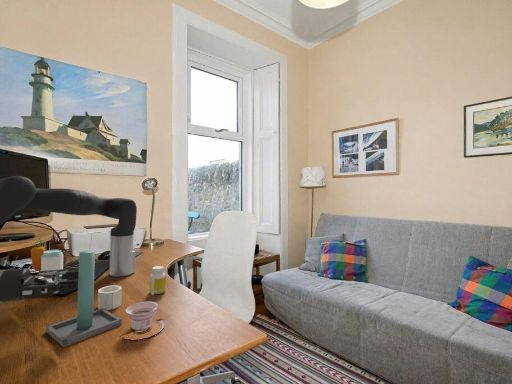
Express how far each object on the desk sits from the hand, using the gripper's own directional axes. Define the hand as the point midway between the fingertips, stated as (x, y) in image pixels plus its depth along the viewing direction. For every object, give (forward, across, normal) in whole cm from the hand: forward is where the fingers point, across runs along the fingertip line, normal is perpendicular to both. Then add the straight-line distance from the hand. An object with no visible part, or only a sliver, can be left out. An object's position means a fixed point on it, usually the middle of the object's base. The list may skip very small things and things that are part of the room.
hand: (80, 279), depth 73 cm
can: (-18, +48, +14) cm, 53 cm away
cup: (+6, +14, +14) cm, 20 cm away
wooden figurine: (-21, +68, +14) cm, 72 cm away
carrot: (-26, +62, +14) cm, 69 cm away
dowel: (+1, 0, +13) cm, 13 cm away
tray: (+1, 0, +14) cm, 14 cm away
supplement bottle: (+21, +20, +14) cm, 32 cm away
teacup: (+15, -4, +14) cm, 21 cm away
